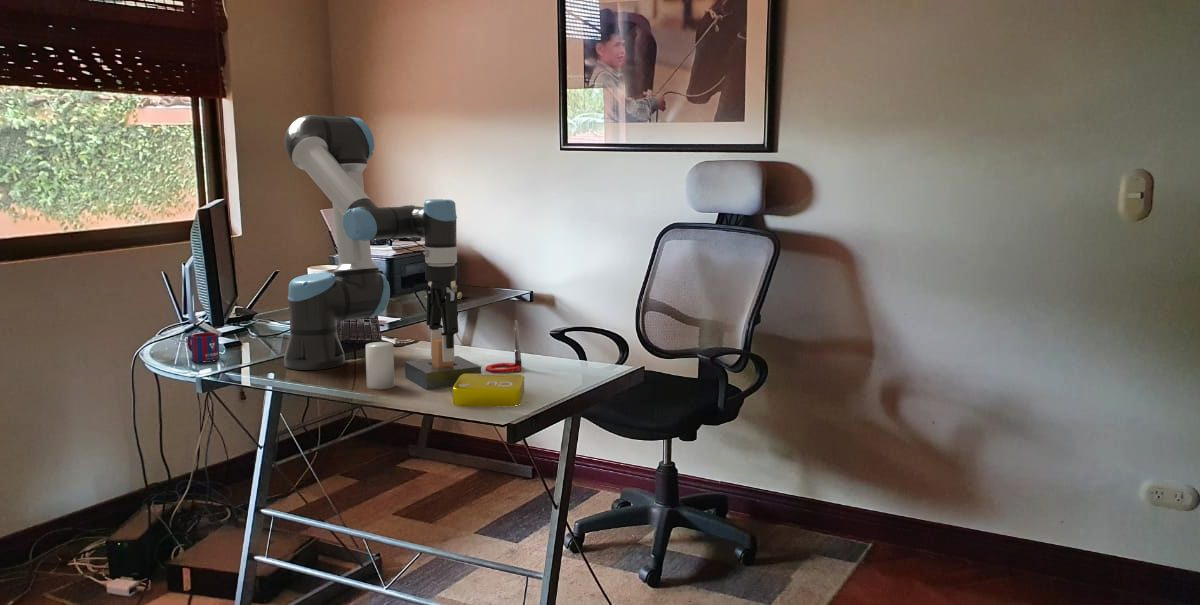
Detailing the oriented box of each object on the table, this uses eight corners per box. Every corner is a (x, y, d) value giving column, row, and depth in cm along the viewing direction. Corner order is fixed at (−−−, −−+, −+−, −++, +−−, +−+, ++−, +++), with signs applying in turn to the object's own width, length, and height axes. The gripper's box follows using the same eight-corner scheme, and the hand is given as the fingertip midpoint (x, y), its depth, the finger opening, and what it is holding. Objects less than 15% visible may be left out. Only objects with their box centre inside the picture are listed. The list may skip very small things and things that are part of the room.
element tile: (524, 391, 217) (524, 371, 217) (519, 408, 203) (519, 387, 202) (461, 390, 217) (460, 371, 217) (451, 408, 203) (450, 386, 202)
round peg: (363, 384, 221) (361, 343, 219) (389, 381, 224) (387, 341, 222) (371, 390, 215) (370, 348, 214) (398, 387, 219) (397, 345, 217)
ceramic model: (425, 301, 349) (425, 275, 347) (423, 297, 360) (423, 271, 358) (463, 300, 352) (462, 274, 351) (460, 296, 363) (459, 271, 362)
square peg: (431, 379, 226) (431, 339, 225) (446, 377, 229) (446, 337, 227) (438, 382, 223) (438, 341, 222) (453, 380, 225) (453, 340, 224)
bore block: (405, 377, 228) (404, 361, 227) (457, 371, 235) (457, 355, 235) (426, 389, 216) (426, 373, 216) (481, 382, 224) (481, 366, 223)
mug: (201, 363, 241) (200, 338, 240) (180, 358, 247) (178, 333, 246) (224, 359, 247) (223, 334, 245) (203, 354, 252) (202, 330, 251)
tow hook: (484, 375, 233) (521, 373, 234) (482, 325, 231) (519, 323, 232) (486, 368, 242) (521, 366, 242) (483, 319, 240) (519, 317, 240)
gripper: (411, 261, 228) (413, 352, 231) (442, 269, 211) (443, 367, 215) (439, 259, 232) (441, 349, 235) (472, 267, 215) (473, 364, 219)
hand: (442, 358), depth 225 cm, fingers open, 7 cm apart
